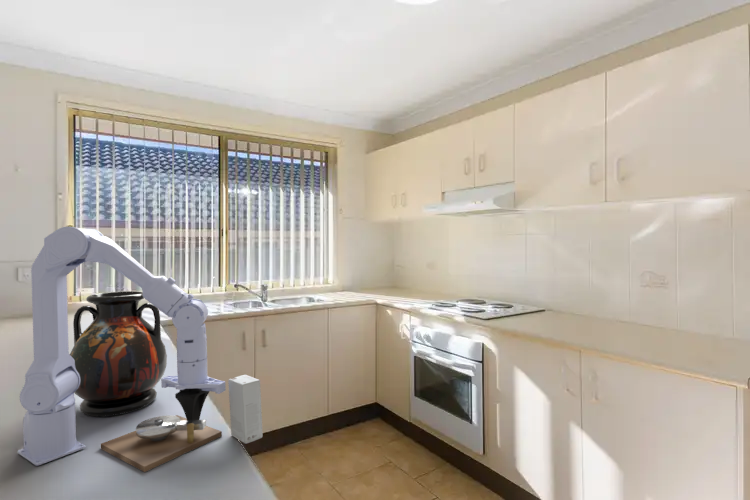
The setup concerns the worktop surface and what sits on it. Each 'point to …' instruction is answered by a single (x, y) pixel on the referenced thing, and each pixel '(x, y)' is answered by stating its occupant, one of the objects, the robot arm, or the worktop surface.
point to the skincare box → (245, 408)
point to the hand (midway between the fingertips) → (194, 423)
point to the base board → (158, 446)
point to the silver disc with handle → (165, 426)
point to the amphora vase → (117, 354)
